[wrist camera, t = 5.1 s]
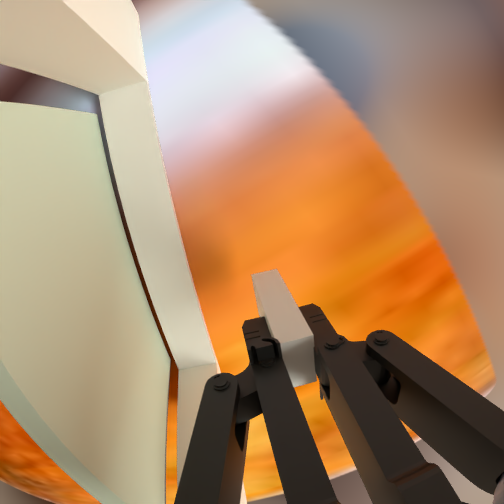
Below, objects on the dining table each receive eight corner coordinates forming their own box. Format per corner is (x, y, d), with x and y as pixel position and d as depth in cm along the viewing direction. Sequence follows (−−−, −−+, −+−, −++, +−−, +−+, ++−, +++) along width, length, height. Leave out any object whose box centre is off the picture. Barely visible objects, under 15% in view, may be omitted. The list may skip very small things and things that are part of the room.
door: (61, 128, 16) (-147, 155, 2) (99, 114, 16) (-107, 100, 2) (141, 368, 23) (121, 550, 9) (173, 363, 23) (172, 552, 9)
